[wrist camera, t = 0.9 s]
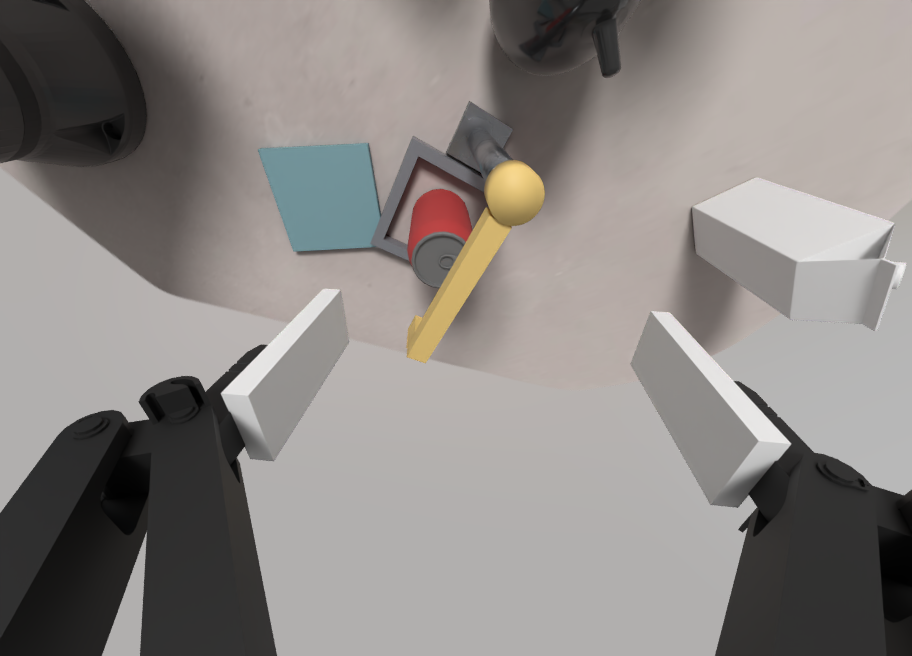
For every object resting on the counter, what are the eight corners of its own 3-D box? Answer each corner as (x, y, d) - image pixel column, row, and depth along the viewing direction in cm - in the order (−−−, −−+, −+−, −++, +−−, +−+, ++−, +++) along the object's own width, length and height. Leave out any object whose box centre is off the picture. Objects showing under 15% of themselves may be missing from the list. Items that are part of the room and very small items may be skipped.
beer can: (465, 244, 42) (475, 294, 33) (412, 241, 42) (406, 292, 32) (470, 188, 38) (482, 228, 29) (411, 185, 38) (404, 224, 28)
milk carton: (694, 253, 45) (827, 347, 30) (690, 205, 41) (841, 285, 26) (753, 228, 43) (927, 313, 28) (755, 175, 39) (958, 242, 24)
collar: (461, 278, 45) (461, 284, 44) (371, 238, 41) (370, 243, 40) (512, 192, 39) (515, 196, 37) (412, 135, 35) (412, 138, 33)
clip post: (486, 174, 37) (519, 238, 23) (446, 151, 36) (454, 204, 22) (511, 128, 35) (565, 168, 21) (469, 101, 33) (496, 123, 19)
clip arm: (432, 337, 30) (432, 370, 27) (399, 325, 29) (395, 358, 26) (537, 168, 22) (556, 185, 19) (496, 142, 21) (508, 156, 18)
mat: (295, 248, 41) (293, 251, 41) (260, 148, 35) (257, 149, 34) (385, 243, 42) (385, 246, 41) (368, 143, 35) (367, 144, 34)
